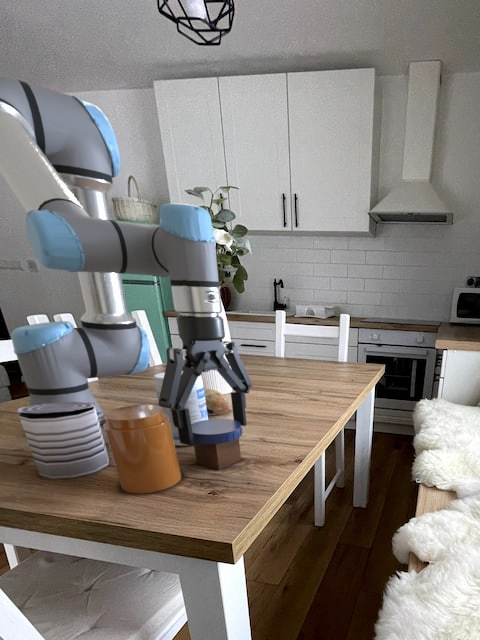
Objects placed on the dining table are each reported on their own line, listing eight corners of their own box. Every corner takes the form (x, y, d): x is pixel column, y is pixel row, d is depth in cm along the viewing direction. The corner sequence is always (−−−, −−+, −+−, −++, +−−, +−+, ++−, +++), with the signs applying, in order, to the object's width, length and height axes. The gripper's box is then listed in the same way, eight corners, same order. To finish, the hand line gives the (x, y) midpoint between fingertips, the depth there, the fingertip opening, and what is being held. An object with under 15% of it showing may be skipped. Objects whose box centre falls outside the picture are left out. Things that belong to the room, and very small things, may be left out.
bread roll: (193, 428, 108) (187, 405, 102) (193, 404, 114) (188, 381, 108) (230, 426, 111) (227, 403, 105) (229, 402, 117) (226, 380, 111)
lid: (252, 435, 77) (251, 425, 76) (208, 448, 70) (206, 438, 69) (222, 424, 83) (221, 415, 82) (178, 436, 75) (176, 426, 75)
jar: (111, 482, 69) (90, 413, 63) (164, 464, 76) (149, 400, 70) (137, 499, 64) (116, 425, 58) (192, 478, 70) (177, 410, 65)
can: (21, 476, 70) (-3, 410, 65) (72, 453, 80) (54, 395, 75) (80, 481, 69) (59, 414, 64) (123, 457, 79) (109, 398, 74)
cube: (196, 463, 77) (191, 429, 74) (219, 454, 82) (215, 421, 79) (219, 470, 75) (214, 435, 72) (241, 459, 80) (237, 426, 77)
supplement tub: (215, 442, 88) (206, 376, 82) (170, 450, 83) (157, 380, 77) (204, 431, 96) (195, 369, 89) (162, 437, 91) (149, 372, 84)
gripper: (148, 318, 55) (175, 458, 65) (264, 313, 76) (272, 420, 85) (115, 316, 59) (145, 449, 68) (235, 312, 79) (245, 415, 88)
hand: (215, 433), depth 76 cm, fingers open, 13 cm apart
